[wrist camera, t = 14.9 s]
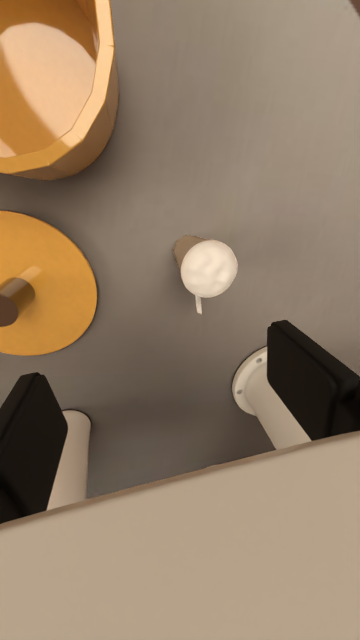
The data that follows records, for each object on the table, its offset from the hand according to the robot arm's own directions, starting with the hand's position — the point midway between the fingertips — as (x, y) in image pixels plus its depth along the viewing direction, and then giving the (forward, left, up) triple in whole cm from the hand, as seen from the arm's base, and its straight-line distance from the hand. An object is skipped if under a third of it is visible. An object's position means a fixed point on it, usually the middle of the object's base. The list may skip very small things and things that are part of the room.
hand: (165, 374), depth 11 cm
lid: (+12, 0, -18) cm, 22 cm away
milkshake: (-5, -1, -19) cm, 19 cm away
